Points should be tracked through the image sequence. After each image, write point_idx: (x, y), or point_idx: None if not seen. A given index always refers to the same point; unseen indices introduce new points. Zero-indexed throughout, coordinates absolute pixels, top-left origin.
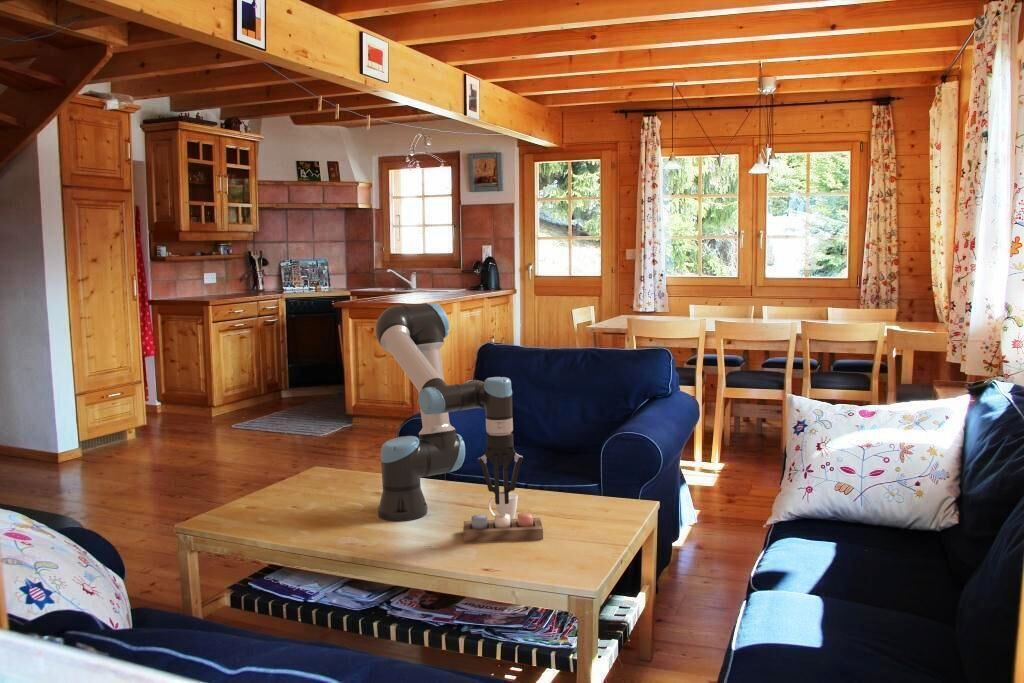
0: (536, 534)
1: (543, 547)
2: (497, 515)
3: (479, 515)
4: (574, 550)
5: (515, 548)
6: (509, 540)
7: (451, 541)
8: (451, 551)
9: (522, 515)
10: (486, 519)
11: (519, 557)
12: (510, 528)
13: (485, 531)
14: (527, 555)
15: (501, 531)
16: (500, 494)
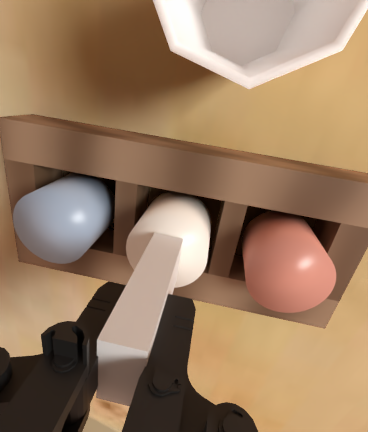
0: None
1: (280, 352)
2: (142, 241)
3: (50, 208)
4: (356, 398)
5: (196, 331)
6: None
7: (3, 213)
8: (17, 291)
9: (271, 282)
10: (90, 246)
11: (191, 382)
12: (198, 282)
13: (98, 278)
14: (215, 379)
15: None
16: (108, 394)
